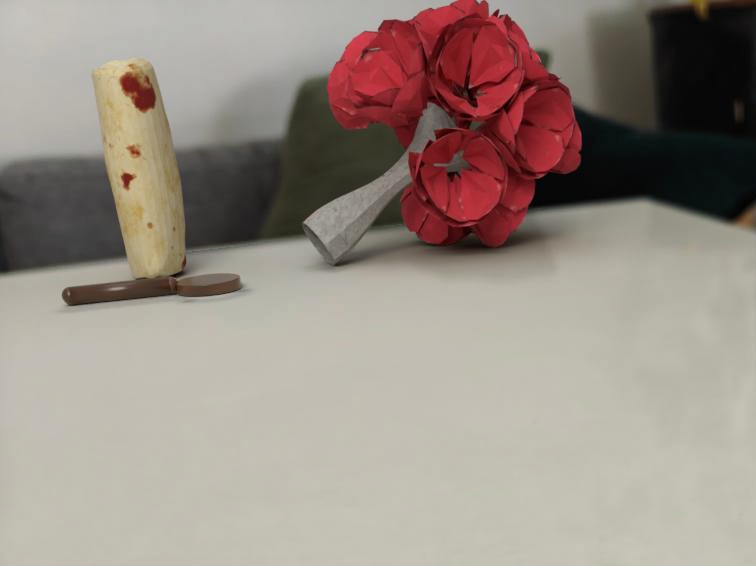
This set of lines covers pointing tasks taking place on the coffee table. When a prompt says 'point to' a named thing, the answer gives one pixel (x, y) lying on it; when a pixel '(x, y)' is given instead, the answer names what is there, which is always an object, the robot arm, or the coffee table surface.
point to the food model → (141, 166)
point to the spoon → (152, 288)
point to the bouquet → (449, 127)
